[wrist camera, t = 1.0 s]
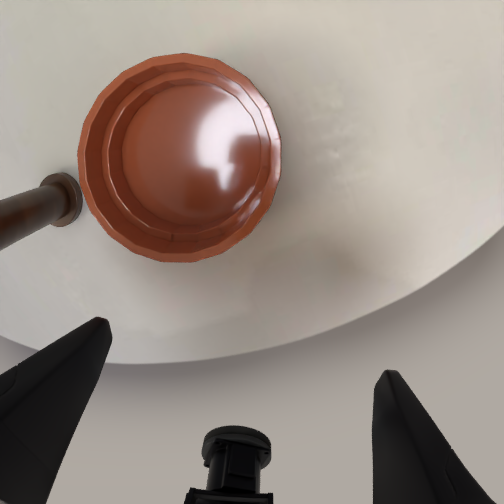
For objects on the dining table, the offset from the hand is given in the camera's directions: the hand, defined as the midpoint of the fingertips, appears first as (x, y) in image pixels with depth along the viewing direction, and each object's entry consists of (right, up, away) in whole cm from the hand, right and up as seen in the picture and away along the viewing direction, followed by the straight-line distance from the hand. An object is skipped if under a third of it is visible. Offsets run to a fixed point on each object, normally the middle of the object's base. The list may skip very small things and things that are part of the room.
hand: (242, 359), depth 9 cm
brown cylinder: (-15, +8, +14) cm, 22 cm away
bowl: (-4, +10, +12) cm, 16 cm away
